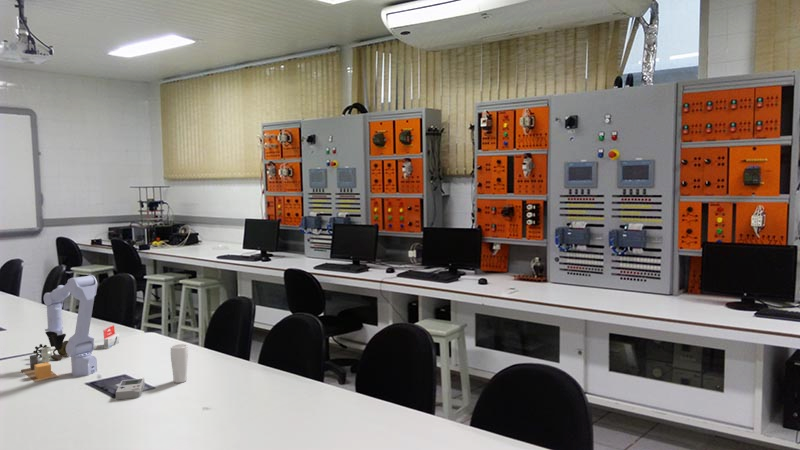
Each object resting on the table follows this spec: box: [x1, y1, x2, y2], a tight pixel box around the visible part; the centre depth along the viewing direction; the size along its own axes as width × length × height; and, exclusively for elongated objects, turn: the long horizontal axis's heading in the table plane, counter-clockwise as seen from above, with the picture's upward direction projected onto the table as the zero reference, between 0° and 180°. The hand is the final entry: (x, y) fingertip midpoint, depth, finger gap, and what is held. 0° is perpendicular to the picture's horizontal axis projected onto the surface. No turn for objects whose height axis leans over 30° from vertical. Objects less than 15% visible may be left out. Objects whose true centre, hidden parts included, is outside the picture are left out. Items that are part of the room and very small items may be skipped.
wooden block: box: [20, 354, 60, 383], centre depth 254 cm, size 24×9×7 cm, turn 45°
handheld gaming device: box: [115, 377, 146, 401], centre depth 233 cm, size 9×14×4 cm, turn 17°
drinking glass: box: [170, 343, 189, 384], centre depth 246 cm, size 7×7×15 cm
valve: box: [32, 343, 53, 363], centre depth 279 cm, size 7×7×12 cm
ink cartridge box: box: [102, 325, 120, 350], centre depth 302 cm, size 2×11×10 cm, turn 179°
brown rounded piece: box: [51, 340, 69, 361], centre depth 283 cm, size 7×13×10 cm
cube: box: [34, 362, 52, 379], centre depth 250 cm, size 5×5×5 cm
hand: (56, 348), depth 264 cm, fingers open, 7 cm apart
